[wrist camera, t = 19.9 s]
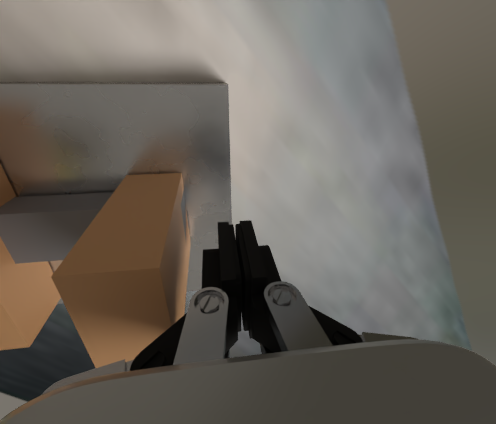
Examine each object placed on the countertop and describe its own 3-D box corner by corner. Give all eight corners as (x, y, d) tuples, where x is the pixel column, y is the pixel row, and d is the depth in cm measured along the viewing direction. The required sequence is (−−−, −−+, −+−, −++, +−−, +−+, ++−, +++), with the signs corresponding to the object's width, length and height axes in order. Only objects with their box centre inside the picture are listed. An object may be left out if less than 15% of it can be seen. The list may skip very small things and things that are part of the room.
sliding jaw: (173, 106, 13) (135, 153, 6) (195, 281, 19) (188, 407, 12) (-76, 108, 12) (-503, 172, 5) (31, 296, 18) (-85, 449, 11)
